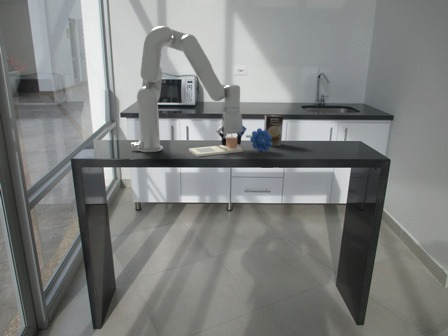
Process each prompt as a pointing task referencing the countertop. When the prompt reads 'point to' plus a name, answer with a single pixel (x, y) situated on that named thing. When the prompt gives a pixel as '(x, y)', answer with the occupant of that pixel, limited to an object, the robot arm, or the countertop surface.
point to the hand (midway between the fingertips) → (231, 144)
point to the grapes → (261, 140)
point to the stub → (231, 145)
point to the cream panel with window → (208, 151)
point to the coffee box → (274, 128)
